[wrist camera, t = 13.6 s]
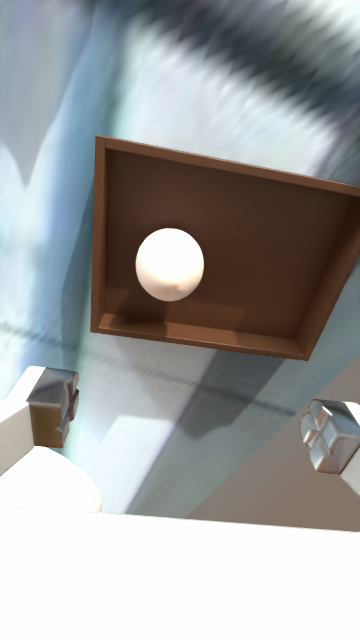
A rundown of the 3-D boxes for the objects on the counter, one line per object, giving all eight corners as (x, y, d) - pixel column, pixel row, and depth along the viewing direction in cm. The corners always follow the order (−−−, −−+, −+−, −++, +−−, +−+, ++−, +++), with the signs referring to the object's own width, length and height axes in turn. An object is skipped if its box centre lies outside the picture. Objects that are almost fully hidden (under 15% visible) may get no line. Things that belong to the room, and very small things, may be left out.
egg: (179, 207, 22) (180, 228, 17) (211, 259, 25) (222, 294, 19) (128, 242, 24) (112, 273, 18) (162, 289, 26) (159, 330, 20)
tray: (364, 187, 22) (389, 192, 20) (296, 342, 29) (308, 361, 27) (105, 136, 21) (95, 134, 18) (98, 314, 28) (90, 332, 25)
